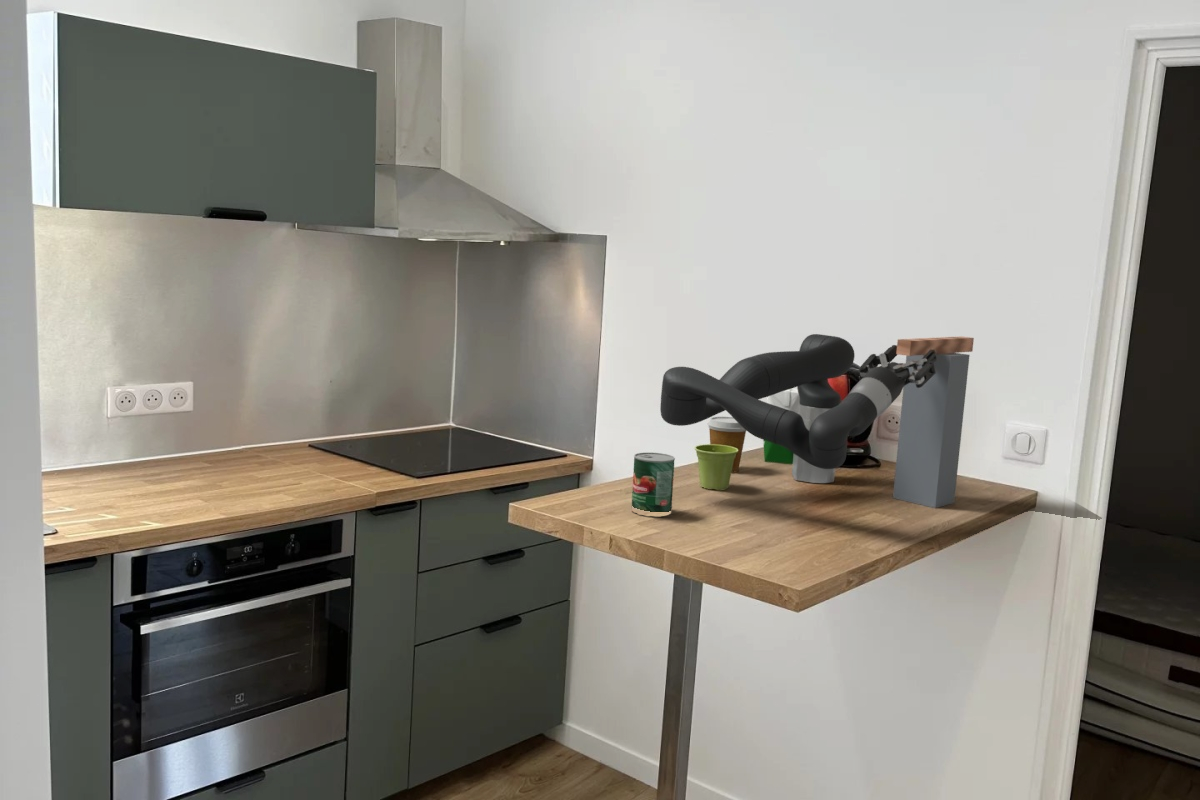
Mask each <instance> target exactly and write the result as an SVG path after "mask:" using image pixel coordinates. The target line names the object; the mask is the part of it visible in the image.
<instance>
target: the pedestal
mask: <svg viewBox="0 0 1200 800" xmlns="http://www.w3.org/2000/svg"><path fill="white" fill-rule="evenodd" d="M905 356H906V355H905ZM924 356H925V355H915V356H906V357H905V358H906V359H905V363H907V362H910V361H914V362H916V361H918V360H921V359H922V358H923V357H924ZM936 357H937V359H936V361H935V362H934V366H935V371H936V373H935V374H934V375H933V376H932V377H931V378H930V379H929V380H928V381H927V382H926V383H925V384H924V385H923V386H922V387H920V388H917V387H916V384H915V383H909V384H907V385H905V386H904V387H903V389H902V399H901V410H900V419H899V420H900V421H899V430H898V440H897V451H896V462H895V469H894V470H895V471H894V481H893V490H892V491H893V492H892V493H893V494H892V499H896V500H900V501H904V502H909V503H913V504H917V505H920V506H925V507H929V508H933V509H937V508H940V507H941V508H942V507H943V506H948V505H952V504H955V498H956V488H957V478H958V468H959V461H960V451H961V450H960V449H961V441H962V432H963V423H964V422H963V421H964V413H965V412H964V410H965V404H966V403H965V402H966V392H967V384H968V374H969V373H968V372H969V364H970V357H971V356H970V354H967V353H966V354H965V353H961V352H959V353H945V354H936ZM921 368H922V365H920V366H918V367H917V369H921ZM909 373H910V374H912V367H909Z"/></svg>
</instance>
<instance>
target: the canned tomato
mask: <svg viewBox="0 0 1200 800" xmlns="http://www.w3.org/2000/svg"><path fill="white" fill-rule="evenodd" d="M633 457H634V459H633V476H632V478H633V479H632V496H631V507H632V506H633V507H634V508H637V509H640V510H644V511H650V512H669V511H672V507H673V493H674V473H675V460H676V457H675V456H673V455H671V454H667V453H662V452H647V451H646V452H638V453H634V455H633Z"/></svg>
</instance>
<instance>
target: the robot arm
mask: <svg viewBox="0 0 1200 800" xmlns="http://www.w3.org/2000/svg"><path fill="white" fill-rule="evenodd" d="M896 352H897V344H896V345H895V344H893V345H891V346H890V347H888V348H887V349H886V350H885V351H884V352H882V353H879V355H877V354H876V353H872V354H869V356H868V357H867V358H866V359H865V361H864V362H863V363H862V364H861V365H860V367H859V368H858V370H859V374H860V377H861V379H860V380H859V381H858V382H857V383H856V384H855V385H854V386H853V387H852V389H851V390H850V391H849V393H848V394H847V395H846V396H845V398H844V399H842V396H841V394H840V393H839V392H838V391H836V390H835V389H834V388H833V387H832V386H831V384H830V382H829V379H830V380H831V379H836V378H839V377H841V376H843V375H845V374H846V373H847V372H848V371H849V370H850V369H851V367H852V366H853V363H854V361H855V356H856V355H855V349H854V347H853V346H852V344H851V343H850V342H849V341H847V340H846V339H845V338H842V337H839V336H835V335H827V334H818V333H815V334H814V333H813V334H810V335H807V336H806V337H805V338H804V339H803V341H802V342H801V344H800V347H799V350H797V351H796V350H792V351H791V350H789V351H772V352H764V353H759V354H756V355H752V356H749V357H745V358H743V359H741V360H738V361H737V362H736V363H735V364H734V365H732V367H730V368H729V369H728V370H727V371H726V372H725V373H724V374H723V375H722V376H721V377H720V378H719V379H718V378H716V377H714V376H712V375H710V374H708V373H706V372H705V371H704V372H703V371H701V370H699V369H696V368H693V367H689V366H674V367H671V368H669V369H667V370H666V371H665V372H664V374H663V376H662V382H661V393H660V394H661V396H660V406H659V407H660V416H661V418H662V419H663V421H664V422H666V423H667V424H669V425H671V426H681V427H682V426H689V425H695V424H697V423H700V422H703V421H705V420H707V419H710V418H712V417H715V416H716V415H718V414H721V413H723V412H725V411H726V412H727V413H728V415H730V417H733V418H734V419H735V420H736V421H737V422H738V423H739V424H740V425H741V426H742V427H743V428H744V429H745V430H746V432H747V433H749V434H751V435H752V436H754V437H756V438H758V439H761V440H762V441H763V440H766V441H769V442H772V443H774V444H777V445H780V446H783V447H785V448H787V449H788V450H789V451H791V452H792V453H794V454H793V464H792V468H791V476H792V477H793V479H794V480H795V481H799V482H800V481H801V482H805V483H813V484H830V483H834V481H835V475H836V469H837V468H839V467H841V466H843V464H844V463H845V461H846V458H847V453H848V452H847V450H848V437H856V436H859V435H861V434H862V433H864V432H865V431H866V430H867V429H868V428H869V427H870V426H871V425H872V423H874V422H875V420H876V419H878V418H879V417H880V416H881V415H882V414H883V413H884V412H886V410H887V409H888V408H889V407H890V406H891V405H892V403H894V402H895V400H896V399H897V398H898V397H899V396H900V395H901V393H902V392H903V387H904V386H905V385H907V384H909V383H915V384H916V387H917V388H920V387H922V386H923V385H924V384H925V383H926V382H927V381H928V380H929V379H930V378H931V377H932V376H933V375H934V374H935V373H936V371H935V366H934V362H935V361H936V359H937V357H936V352H935V350H929V352H928V353H927V354H926V355H925V356H924V357H923V358H922V359H921V360H918V361H916V362H914V361H910V362H907V363H906V362H904V363H903V362H902V363H901V362H900V363H898V362H895V361H893V360H894V359H895V358H896V357H897V356H898V354H896ZM920 365H922V368H921V369H917V367H918V366H920ZM909 367H912V374H910V373H909ZM791 388H796V389H798V393H799V397H800V402H799V403H800V404H799V414H798V413H796V412H793V411H790V410H787V409H784V408H781V407H778V406H775V405H772V404H769V403H766V402H767V401H763V400H761V399H764V398H767V397H768V396H771V395H774V394H777V393H779V392H782V391H785V390H788V389H791Z"/></svg>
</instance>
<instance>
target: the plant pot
mask: <svg viewBox="0 0 1200 800" xmlns="http://www.w3.org/2000/svg"><path fill="white" fill-rule="evenodd" d="M694 450H695V451H696V457H697V462H698V472H699V474H698V475H699V486H700V487H701V486H702V487H704V488H703V489H705V488H708V489H711V490H716V491H723V490H727V489H729V487H730V486H729V485H730V481H731V478H732V473H731V472H732V467H733V462H734V459H735V457H736V453H738V449H737V448H734V447H731V446H725V445H715V444H710V443H709V444H699V445H695V446H694ZM702 487H701V488H702ZM708 489H707V490H708Z"/></svg>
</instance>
